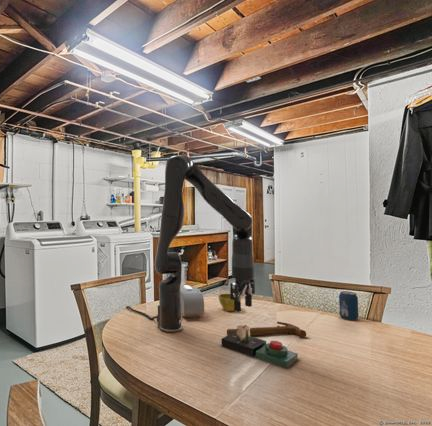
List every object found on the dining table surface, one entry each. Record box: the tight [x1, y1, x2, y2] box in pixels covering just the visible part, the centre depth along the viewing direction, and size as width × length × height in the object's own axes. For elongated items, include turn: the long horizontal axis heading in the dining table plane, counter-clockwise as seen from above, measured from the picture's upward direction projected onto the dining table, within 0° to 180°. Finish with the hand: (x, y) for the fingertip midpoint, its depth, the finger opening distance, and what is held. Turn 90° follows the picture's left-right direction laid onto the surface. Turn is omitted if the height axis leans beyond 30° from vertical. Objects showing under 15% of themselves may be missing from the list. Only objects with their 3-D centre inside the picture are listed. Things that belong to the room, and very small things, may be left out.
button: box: [269, 340, 283, 350], centre depth 103 cm, size 4×4×2 cm
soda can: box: [338, 290, 359, 322], centre depth 141 cm, size 7×7×12 cm
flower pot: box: [217, 293, 239, 312], centre depth 157 cm, size 10×10×7 cm
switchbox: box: [255, 342, 299, 369], centre depth 103 cm, size 10×9×4 cm
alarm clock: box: [180, 284, 205, 318], centre depth 153 cm, size 21×10×13 cm, turn 179°
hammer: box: [226, 321, 307, 339], centre depth 125 cm, size 12×3×30 cm
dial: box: [236, 324, 251, 342], centre depth 112 cm, size 4×4×5 cm
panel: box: [221, 332, 267, 358], centre depth 112 cm, size 12×10×3 cm
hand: (243, 308), depth 113 cm, fingers open, 8 cm apart
